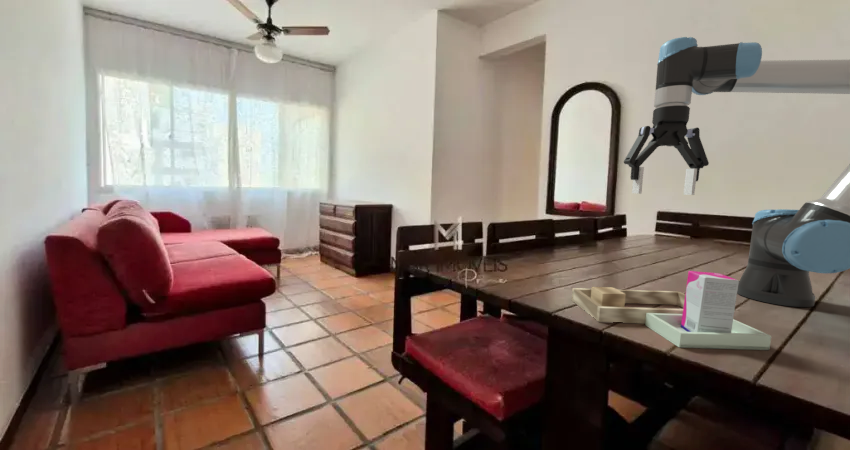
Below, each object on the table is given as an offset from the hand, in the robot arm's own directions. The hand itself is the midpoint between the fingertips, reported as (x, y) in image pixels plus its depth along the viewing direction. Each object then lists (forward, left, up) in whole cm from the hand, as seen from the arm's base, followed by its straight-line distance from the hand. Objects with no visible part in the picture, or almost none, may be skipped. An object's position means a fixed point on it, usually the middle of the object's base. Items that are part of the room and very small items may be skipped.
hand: (662, 194), depth 93 cm
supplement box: (+6, +26, -26) cm, 37 cm away
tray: (+7, +26, -26) cm, 38 cm away
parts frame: (+11, +13, -26) cm, 31 cm away
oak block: (+19, +14, -26) cm, 35 cm away
